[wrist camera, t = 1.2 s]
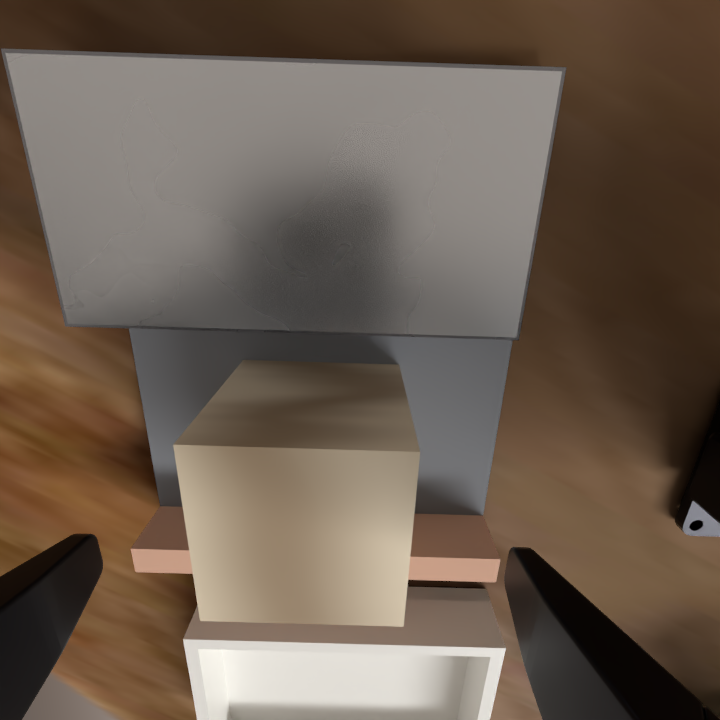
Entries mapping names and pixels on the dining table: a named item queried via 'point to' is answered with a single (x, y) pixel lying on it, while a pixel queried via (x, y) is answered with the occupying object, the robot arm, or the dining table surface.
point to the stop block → (301, 495)
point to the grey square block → (287, 190)
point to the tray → (352, 664)
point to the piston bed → (413, 354)
